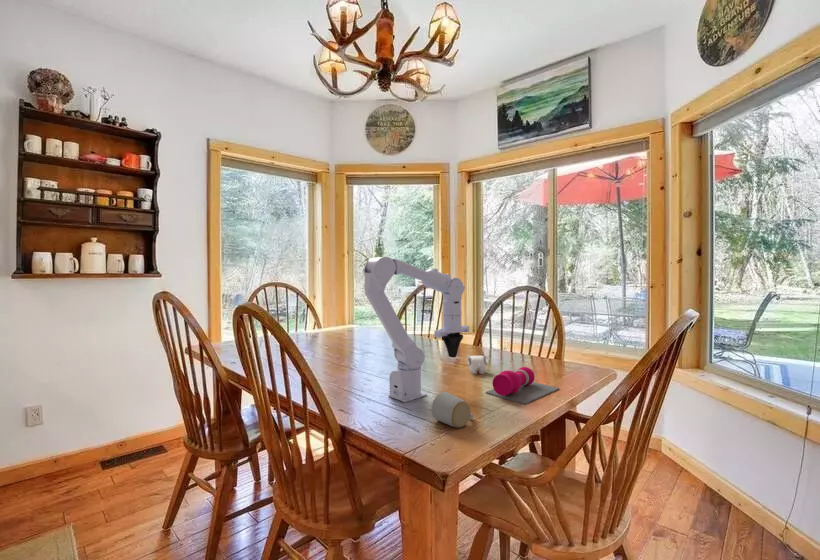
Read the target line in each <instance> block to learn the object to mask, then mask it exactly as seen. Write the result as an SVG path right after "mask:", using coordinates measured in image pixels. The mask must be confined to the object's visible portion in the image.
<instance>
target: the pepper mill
mask: <svg viewBox="0 0 820 560" xmlns="http://www.w3.org/2000/svg"><path fill="white" fill-rule="evenodd" d="M535 377H536V376H535V373H534V371H533V370H532V368H530V367H527V366H522V367H519V368H518V369H517V370H515V371H513V370H503V371H501V372H500V373H498V374H496V375H495V376H494V377H493V379H492V383H491V384H492V389H494V390H495V392H496V393H498V394H499V395H502V396H505V395H512V394H514V393H516V392H517V391H518V390H519V389H520V387H521V386H528V385H530V384H532V383H533V382H535Z"/></svg>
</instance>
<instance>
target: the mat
mask: <svg viewBox="0 0 820 560" xmlns="http://www.w3.org/2000/svg"><path fill="white" fill-rule="evenodd" d="M558 389H559V390H560V387H557V386H552V385H548V384H544V383H539V382H537V381H536V382H535V381H533V383H532V384H530V385H528V386H521V387H520V389H519V390H518V391H517V392H516V393H514V394H512V395H505V396H502V395H499V394H498V393H496V392H495V390H494V388H492V389H490V390H487V391H485V394H488V395H489V396H490V395H491V396H494V397H497V398H501V399H504V400H505V399H506V400H508V401H512V402H515V403H518V404H522V405H528V404H530V403H532V402H534V401H536V400H538V399H541V398H543V397H546V396H548V395H549V393H550V394H552V393H554V392H557V391H559V390H558ZM551 392H552V393H551ZM547 394H548V395H547Z"/></svg>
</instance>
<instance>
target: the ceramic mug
mask: <svg viewBox="0 0 820 560" xmlns="http://www.w3.org/2000/svg"><path fill="white" fill-rule="evenodd" d="M431 403H432V404H431V414H432V417H433V418H434V419H435V420H436V421H438V422H441V423H443V424H446V425H448V426H450V427H453V428H462V427H464V426H466V425H467V423H468V422H469V421H472V420H473V418H474V414H473V413H471V407H470V405H469V403H468V402H467V401H465V400H463V399H462V398H460V397H458V396H455V395H454V394H451V393H449V392H447V391H442V392H439V393H438V394H437V395H436V396H435V397H434V399H433V401H432V402H431Z"/></svg>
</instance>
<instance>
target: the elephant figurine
mask: <svg viewBox="0 0 820 560" xmlns="http://www.w3.org/2000/svg"><path fill="white" fill-rule="evenodd" d="M489 361H490V359H489V357H488V354H487V353H484V355H469V353H467V365H468V366H469V367H468V368H469V371H470V372H471V374H472V375H477V374H478V372H479V374H480V375H484V374H486V366H487V365H488V363H489Z"/></svg>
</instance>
